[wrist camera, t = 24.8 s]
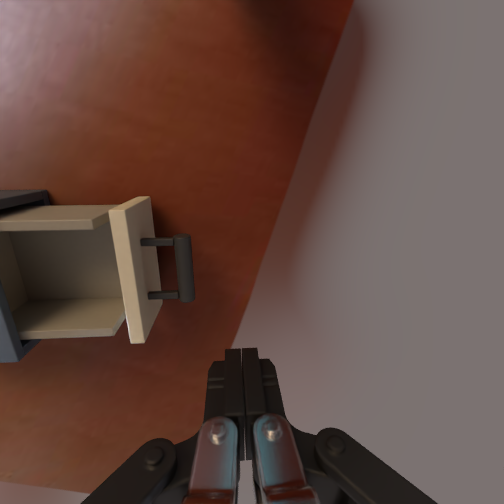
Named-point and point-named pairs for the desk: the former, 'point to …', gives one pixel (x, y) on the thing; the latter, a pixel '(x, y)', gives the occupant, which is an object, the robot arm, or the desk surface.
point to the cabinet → (3, 327)
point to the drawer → (87, 269)
